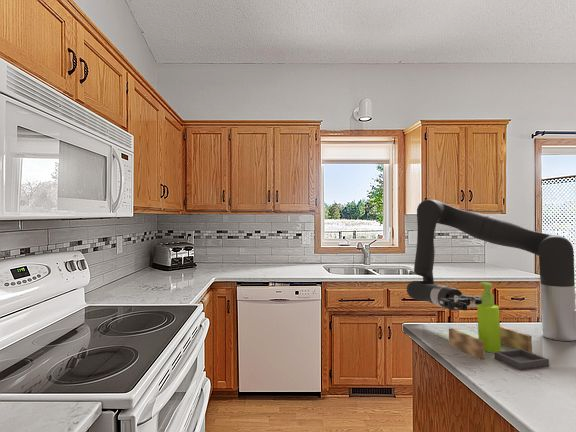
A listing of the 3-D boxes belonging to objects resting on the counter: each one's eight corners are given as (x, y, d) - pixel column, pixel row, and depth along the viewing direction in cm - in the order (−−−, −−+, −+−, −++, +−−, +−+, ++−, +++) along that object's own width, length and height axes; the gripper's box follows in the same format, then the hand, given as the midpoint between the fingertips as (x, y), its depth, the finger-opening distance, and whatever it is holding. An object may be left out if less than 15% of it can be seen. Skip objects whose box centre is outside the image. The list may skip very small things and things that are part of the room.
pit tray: (494, 358, 109) (494, 352, 109) (521, 355, 111) (521, 348, 111) (520, 370, 100) (520, 363, 100) (549, 366, 102) (548, 359, 102)
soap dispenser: (494, 345, 120) (491, 280, 121) (504, 352, 114) (501, 284, 114) (474, 345, 121) (472, 281, 121) (483, 352, 114) (480, 284, 115)
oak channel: (449, 344, 122) (448, 328, 122) (496, 339, 126) (495, 324, 126) (480, 359, 108) (479, 341, 109) (532, 353, 112) (531, 335, 113)
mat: (433, 334, 134) (433, 332, 134) (466, 330, 137) (466, 329, 137) (454, 343, 123) (454, 342, 123) (489, 339, 126) (489, 338, 126)
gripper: (428, 287, 136) (457, 295, 120) (463, 285, 139) (497, 292, 123) (428, 309, 136) (458, 320, 120) (464, 306, 139) (498, 316, 123)
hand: (478, 306), depth 121 cm, fingers open, 8 cm apart
